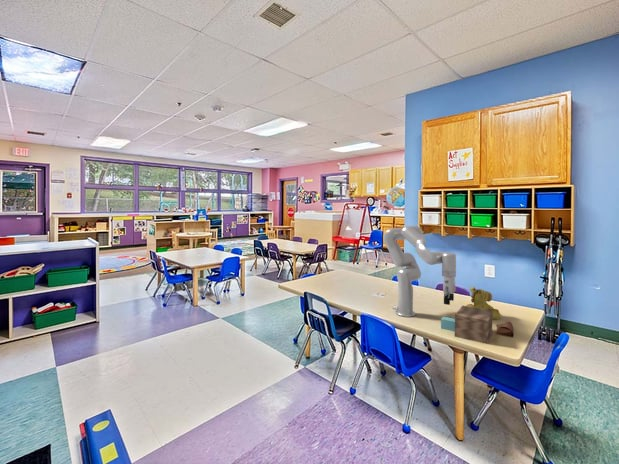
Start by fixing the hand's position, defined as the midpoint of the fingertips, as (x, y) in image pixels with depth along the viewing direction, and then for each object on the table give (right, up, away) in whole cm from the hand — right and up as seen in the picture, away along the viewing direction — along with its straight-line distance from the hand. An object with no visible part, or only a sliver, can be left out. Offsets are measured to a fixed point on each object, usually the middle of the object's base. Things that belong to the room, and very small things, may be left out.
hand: (448, 302), depth 179 cm
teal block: (+3, -16, -1) cm, 17 cm away
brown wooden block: (+11, -17, -7) cm, 21 cm away
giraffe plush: (+32, -15, +22) cm, 41 cm away
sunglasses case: (+32, -17, -2) cm, 36 cm away
